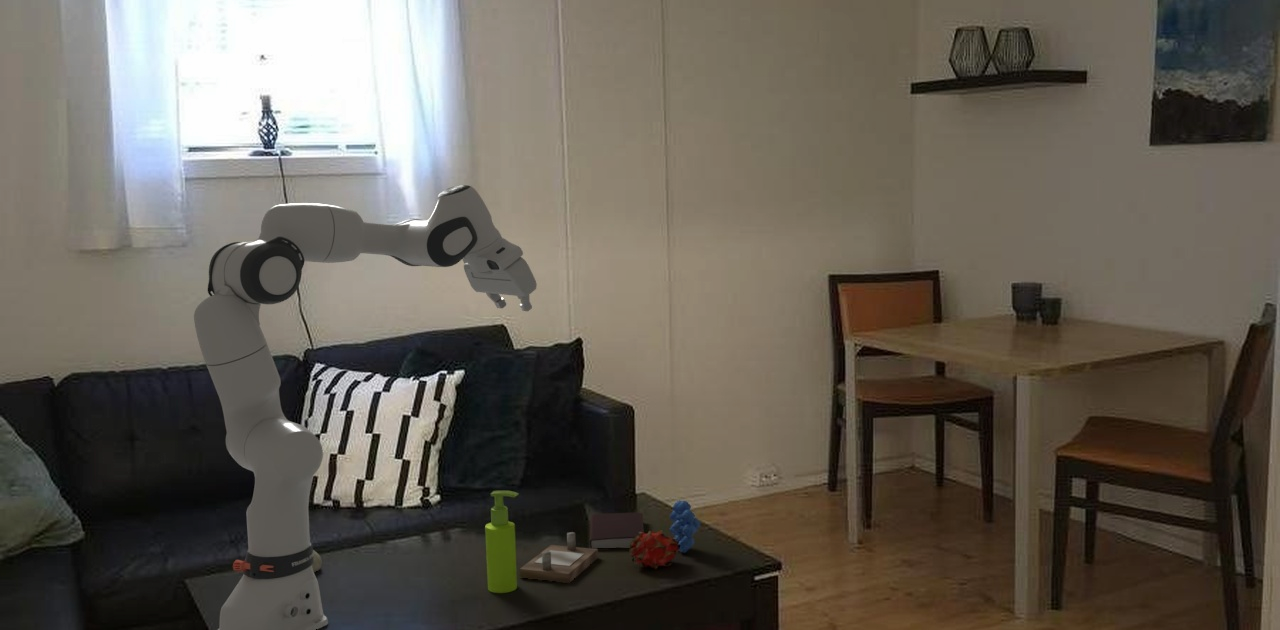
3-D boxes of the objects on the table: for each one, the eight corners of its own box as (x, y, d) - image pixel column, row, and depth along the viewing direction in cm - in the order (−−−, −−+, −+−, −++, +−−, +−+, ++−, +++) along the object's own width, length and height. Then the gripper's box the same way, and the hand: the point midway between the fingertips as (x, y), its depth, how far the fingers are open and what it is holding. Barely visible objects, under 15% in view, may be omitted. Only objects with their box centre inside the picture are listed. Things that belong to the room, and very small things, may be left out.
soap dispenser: (516, 594, 224) (513, 496, 221) (483, 592, 225) (479, 495, 223) (525, 583, 229) (522, 488, 227) (493, 582, 231) (489, 487, 228)
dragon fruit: (624, 576, 237) (676, 576, 241) (638, 563, 230) (691, 563, 235) (619, 537, 241) (670, 538, 246) (633, 523, 235) (685, 524, 239)
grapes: (711, 558, 242) (710, 504, 241) (681, 562, 240) (680, 507, 239) (692, 542, 253) (691, 490, 252) (664, 545, 251) (663, 493, 250)
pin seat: (568, 583, 229) (568, 557, 228) (520, 578, 233) (519, 552, 232) (597, 558, 244) (597, 533, 243) (551, 553, 248) (550, 529, 247)
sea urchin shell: (265, 570, 236) (279, 536, 241) (282, 586, 242) (296, 553, 247) (303, 573, 233) (316, 538, 238) (319, 590, 239) (332, 555, 244)
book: (589, 552, 250) (589, 537, 249) (590, 525, 269) (590, 512, 269) (645, 550, 250) (645, 536, 250) (643, 524, 269) (643, 511, 269)
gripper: (449, 260, 244) (477, 313, 250) (504, 264, 229) (532, 320, 235) (470, 245, 247) (497, 297, 253) (525, 247, 232) (553, 303, 238)
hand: (514, 308), depth 244 cm, fingers open, 8 cm apart
